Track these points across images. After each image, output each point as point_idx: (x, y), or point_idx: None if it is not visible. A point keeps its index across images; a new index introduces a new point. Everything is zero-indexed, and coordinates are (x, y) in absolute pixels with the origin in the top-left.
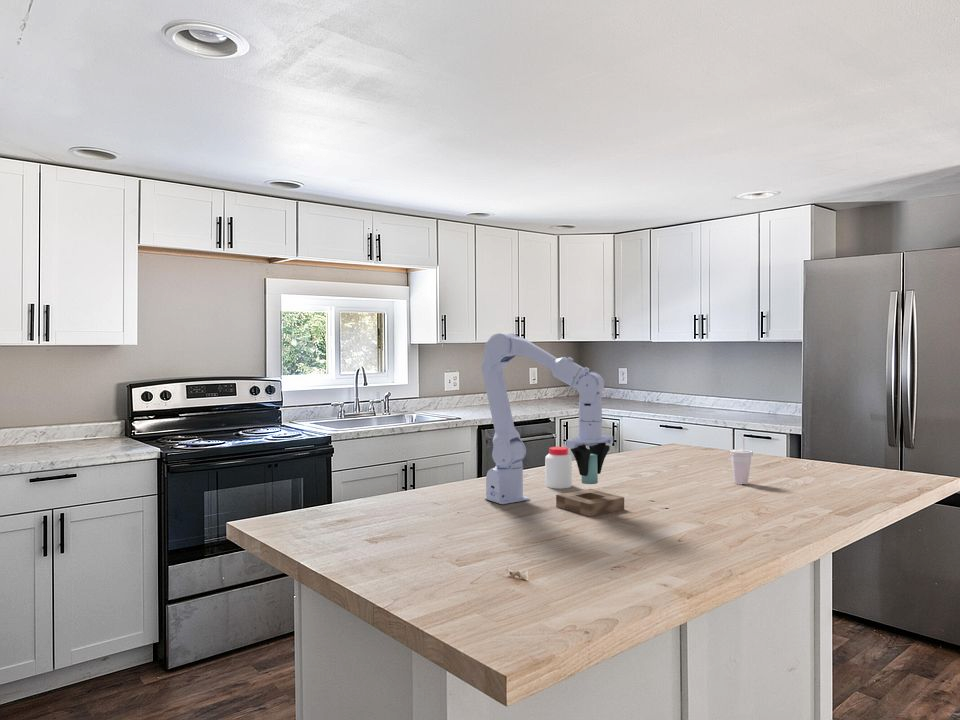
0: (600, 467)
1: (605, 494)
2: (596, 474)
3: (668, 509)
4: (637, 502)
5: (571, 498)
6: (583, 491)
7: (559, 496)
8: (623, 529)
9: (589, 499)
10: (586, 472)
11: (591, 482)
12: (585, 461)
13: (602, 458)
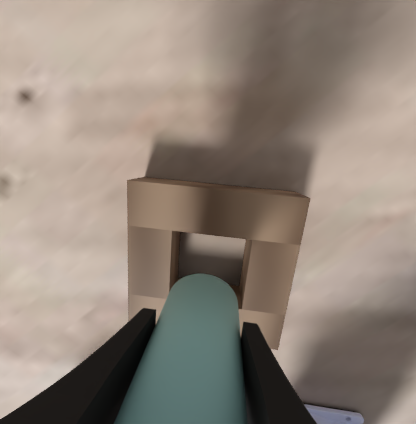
0: (134, 331)
1: (148, 251)
2: (187, 302)
3: (30, 81)
4: (52, 202)
5: (283, 291)
6: None
7: (280, 334)
8: (355, 3)
9: None
10: (258, 336)
11: (223, 285)
12: (315, 421)
13: (83, 389)
